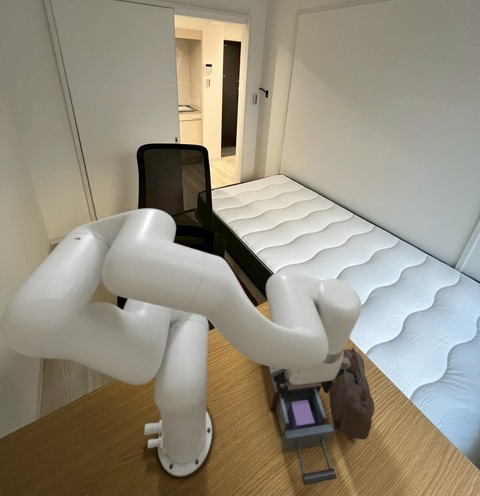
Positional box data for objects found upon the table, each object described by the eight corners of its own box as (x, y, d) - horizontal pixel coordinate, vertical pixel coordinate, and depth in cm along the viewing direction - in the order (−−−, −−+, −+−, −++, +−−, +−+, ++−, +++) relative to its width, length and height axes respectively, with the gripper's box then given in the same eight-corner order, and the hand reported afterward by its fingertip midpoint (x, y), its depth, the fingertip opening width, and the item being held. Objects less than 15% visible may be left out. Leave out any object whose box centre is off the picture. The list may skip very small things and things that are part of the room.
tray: (340, 484, 53) (349, 471, 50) (290, 494, 51) (296, 482, 48) (306, 377, 70) (310, 364, 67) (268, 382, 68) (271, 368, 66)
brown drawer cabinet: (315, 402, 66) (322, 385, 62) (270, 409, 64) (274, 391, 60) (296, 345, 79) (301, 328, 75) (258, 349, 77) (261, 332, 73)
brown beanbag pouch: (362, 456, 57) (391, 415, 49) (331, 446, 58) (353, 404, 50) (350, 384, 70) (371, 341, 62) (324, 377, 71) (341, 334, 63)
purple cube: (288, 410, 62) (290, 401, 60) (304, 408, 63) (307, 399, 61) (293, 434, 58) (297, 425, 57) (311, 431, 59) (314, 422, 57)
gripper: (352, 316, 50) (330, 364, 57) (272, 322, 47) (259, 371, 54) (375, 356, 43) (347, 404, 51) (283, 365, 40) (267, 415, 48)
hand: (302, 387), depth 52 cm, fingers open, 9 cm apart
